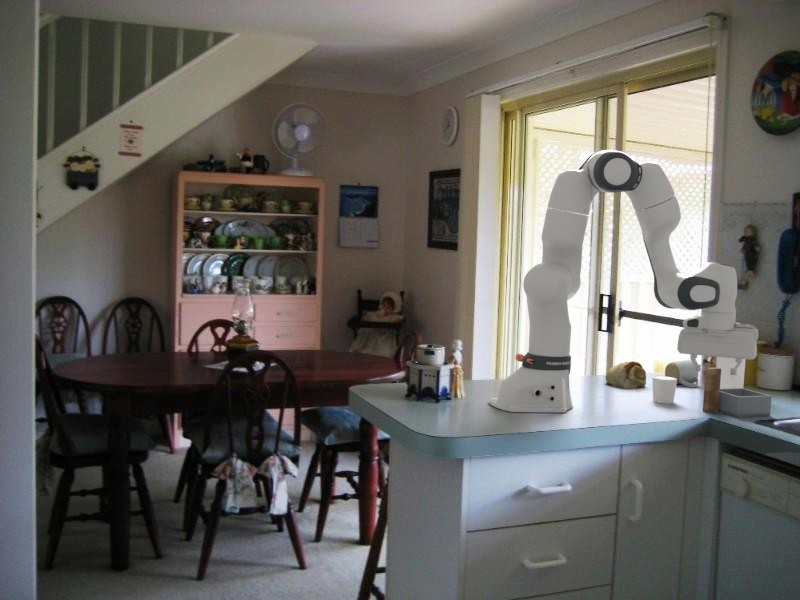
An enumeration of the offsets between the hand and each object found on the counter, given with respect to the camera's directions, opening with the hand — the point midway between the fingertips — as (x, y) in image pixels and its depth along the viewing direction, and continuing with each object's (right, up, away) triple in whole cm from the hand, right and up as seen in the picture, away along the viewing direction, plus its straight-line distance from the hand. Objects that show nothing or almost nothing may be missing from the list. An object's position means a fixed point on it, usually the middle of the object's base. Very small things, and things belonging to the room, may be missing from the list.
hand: (715, 372), depth 232 cm
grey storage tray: (+7, -11, +2) cm, 13 cm away
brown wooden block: (-1, -11, +1) cm, 11 cm away
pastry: (-14, -7, +38) cm, 42 cm away
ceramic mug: (+6, -8, +43) cm, 44 cm away
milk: (+14, -9, +28) cm, 32 cm away
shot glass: (-10, -10, +13) cm, 19 cm away
